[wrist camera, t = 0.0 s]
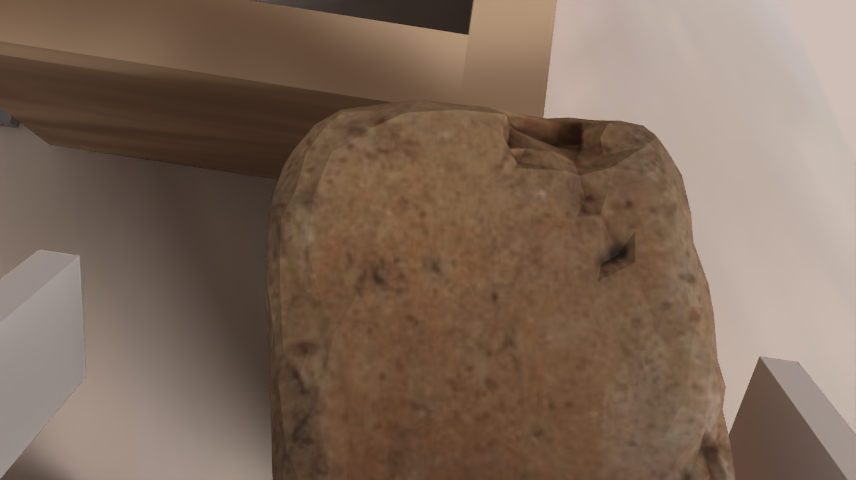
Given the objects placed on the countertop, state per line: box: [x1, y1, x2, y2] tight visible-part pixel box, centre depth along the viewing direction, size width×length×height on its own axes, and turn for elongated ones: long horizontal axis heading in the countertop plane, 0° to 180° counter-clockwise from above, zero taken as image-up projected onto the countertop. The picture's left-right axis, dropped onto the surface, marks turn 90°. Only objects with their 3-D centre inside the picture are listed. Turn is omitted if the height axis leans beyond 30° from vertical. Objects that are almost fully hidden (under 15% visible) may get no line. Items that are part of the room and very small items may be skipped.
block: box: [265, 100, 736, 480], centre depth 19 cm, size 11×8×20 cm
